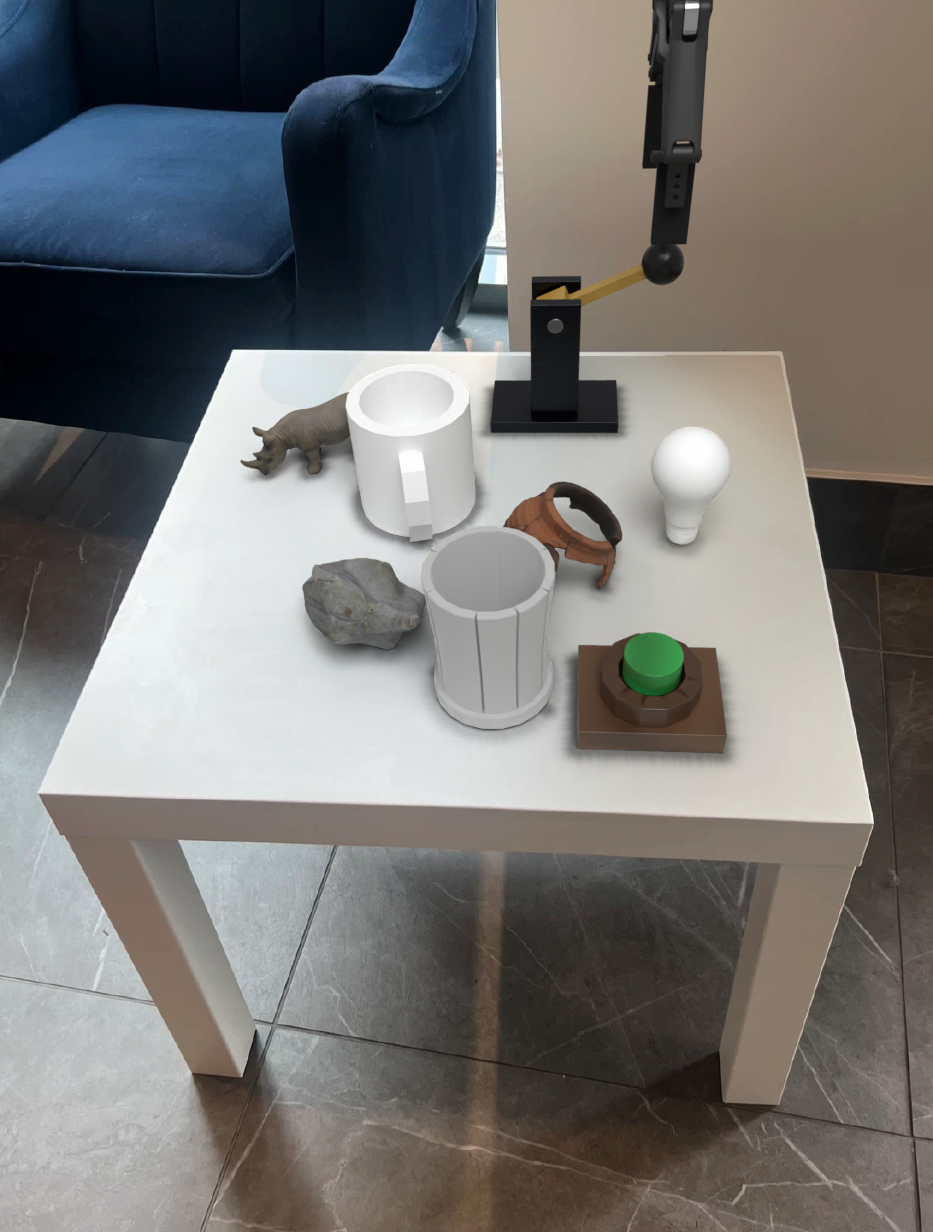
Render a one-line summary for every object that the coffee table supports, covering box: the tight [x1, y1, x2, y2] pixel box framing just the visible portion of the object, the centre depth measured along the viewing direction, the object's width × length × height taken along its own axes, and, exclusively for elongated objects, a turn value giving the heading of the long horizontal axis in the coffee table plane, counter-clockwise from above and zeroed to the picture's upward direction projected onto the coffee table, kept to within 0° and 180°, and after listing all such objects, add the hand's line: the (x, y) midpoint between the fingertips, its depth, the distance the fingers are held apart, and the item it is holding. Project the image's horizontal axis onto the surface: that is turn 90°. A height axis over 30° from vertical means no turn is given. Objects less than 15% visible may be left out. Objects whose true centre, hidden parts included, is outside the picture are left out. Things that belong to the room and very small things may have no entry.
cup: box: [420, 525, 556, 730], centre depth 71 cm, size 10×9×12 cm
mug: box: [346, 363, 476, 543], centre depth 85 cm, size 14×10×11 cm
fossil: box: [301, 557, 427, 650], centre depth 76 cm, size 11×9×8 cm
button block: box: [577, 632, 728, 754], centre depth 71 cm, size 10×8×4 cm
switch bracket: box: [490, 275, 619, 434], centre depth 93 cm, size 12×7×13 cm, turn 86°
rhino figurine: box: [239, 391, 351, 477], centre depth 92 cm, size 4×14×6 cm, turn 118°
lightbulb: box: [650, 425, 732, 545], centre depth 80 cm, size 6×6×11 cm
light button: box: [622, 631, 684, 696], centre depth 69 cm, size 4×4×2 cm
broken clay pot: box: [502, 481, 623, 588], centre depth 80 cm, size 12×10×8 cm
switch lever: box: [537, 244, 685, 307], centre depth 88 cm, size 13×4×4 cm, turn 86°
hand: (662, 202), depth 82 cm, fingers open, 13 cm apart
